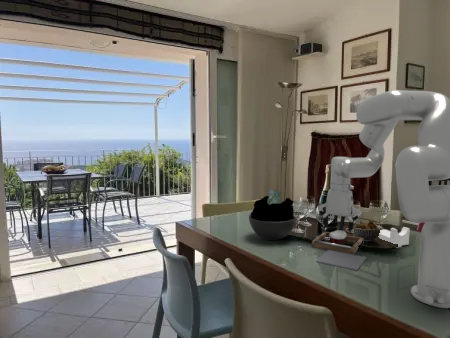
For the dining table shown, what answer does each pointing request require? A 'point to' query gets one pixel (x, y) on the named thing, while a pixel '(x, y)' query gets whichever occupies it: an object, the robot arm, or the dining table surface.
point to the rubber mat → (341, 260)
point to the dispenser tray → (336, 247)
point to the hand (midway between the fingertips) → (338, 228)
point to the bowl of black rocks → (272, 218)
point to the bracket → (395, 236)
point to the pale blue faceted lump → (274, 197)
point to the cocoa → (339, 234)
